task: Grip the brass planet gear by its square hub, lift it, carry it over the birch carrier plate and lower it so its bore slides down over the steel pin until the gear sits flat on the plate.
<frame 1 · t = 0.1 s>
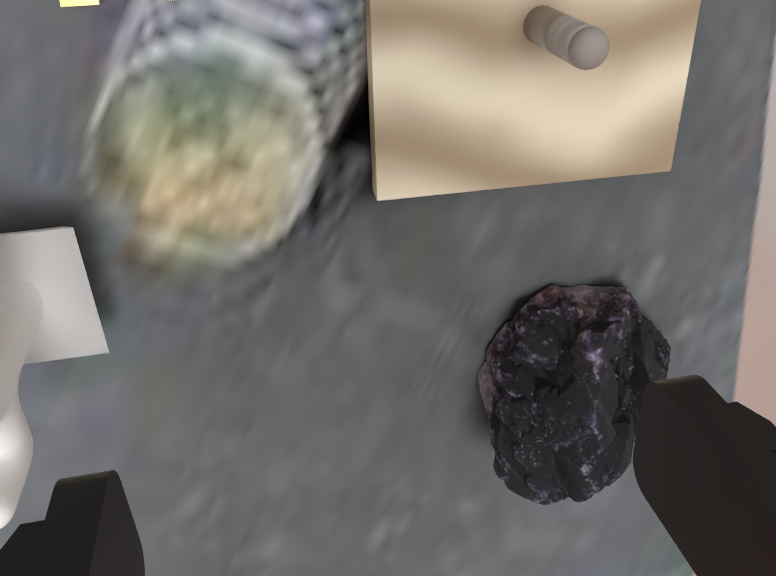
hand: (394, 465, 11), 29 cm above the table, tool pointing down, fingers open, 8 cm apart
black rock: (559, 360, 49), on the table
figurine: (33, 266, 39), on the table
carrier plate: (529, 19, 37), on the table
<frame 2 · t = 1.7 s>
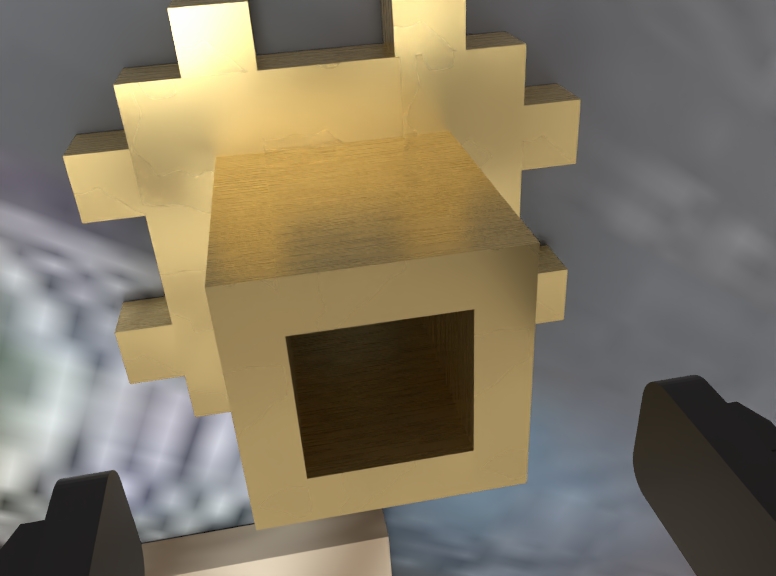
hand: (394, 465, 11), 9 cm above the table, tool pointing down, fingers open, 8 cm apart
planet gear: (337, 223, 19), on the table
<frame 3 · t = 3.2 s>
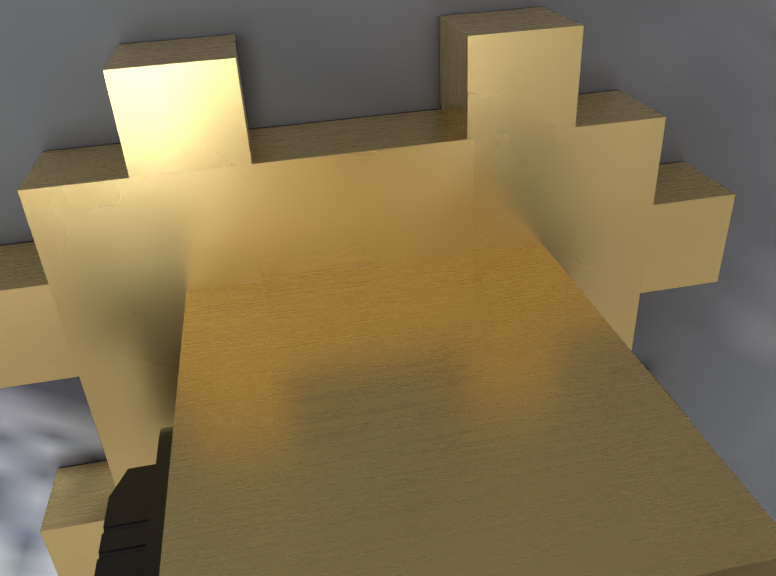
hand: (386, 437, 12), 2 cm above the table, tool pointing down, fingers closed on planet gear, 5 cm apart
planet gear: (365, 355, 14), on the table, touching gripper
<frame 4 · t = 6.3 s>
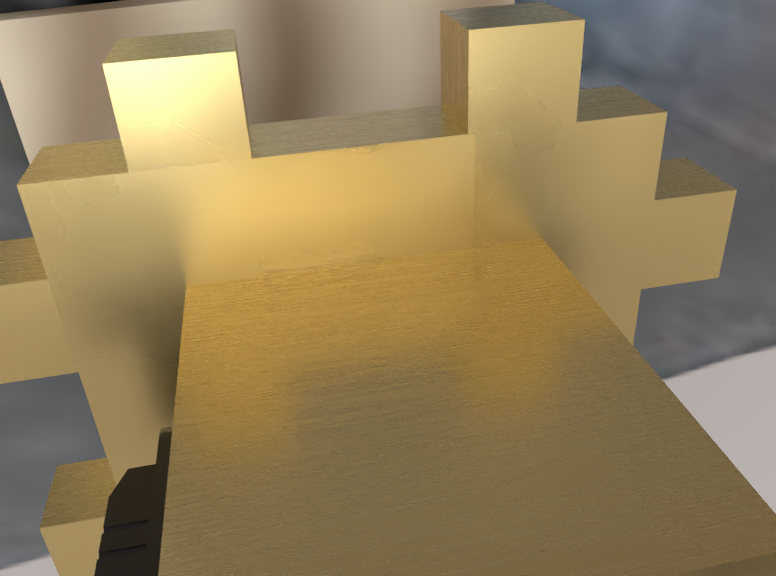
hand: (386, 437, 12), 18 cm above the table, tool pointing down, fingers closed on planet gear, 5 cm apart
carrier plate: (293, 215, 29), on the table
planet gear: (365, 351, 14), point 16 cm above the table, touching gripper
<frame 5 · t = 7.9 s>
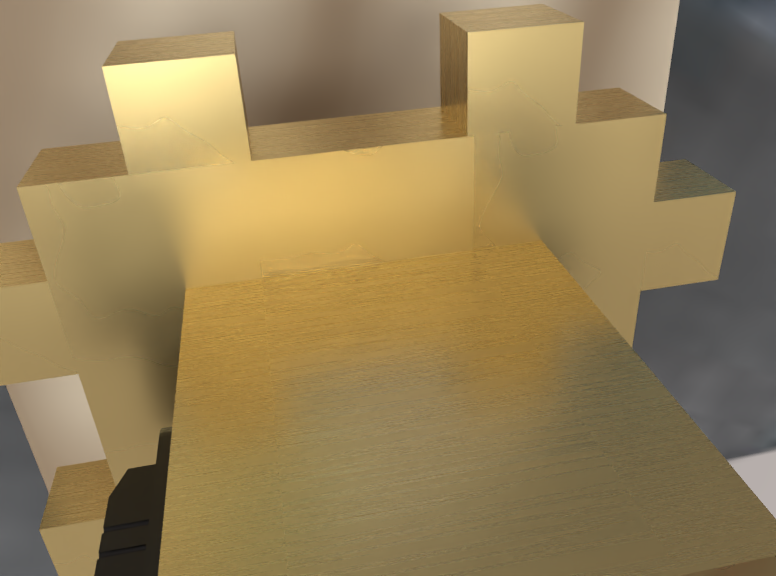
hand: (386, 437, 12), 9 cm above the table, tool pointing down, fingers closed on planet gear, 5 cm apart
carrier plate: (323, 213, 19), on the table
planet gear: (365, 353, 14), point 7 cm above the table, touching gripper
when the fingers open (5 cm above the table, at t = 9.2 s): planet gear stays where it is, resting on carrier plate.
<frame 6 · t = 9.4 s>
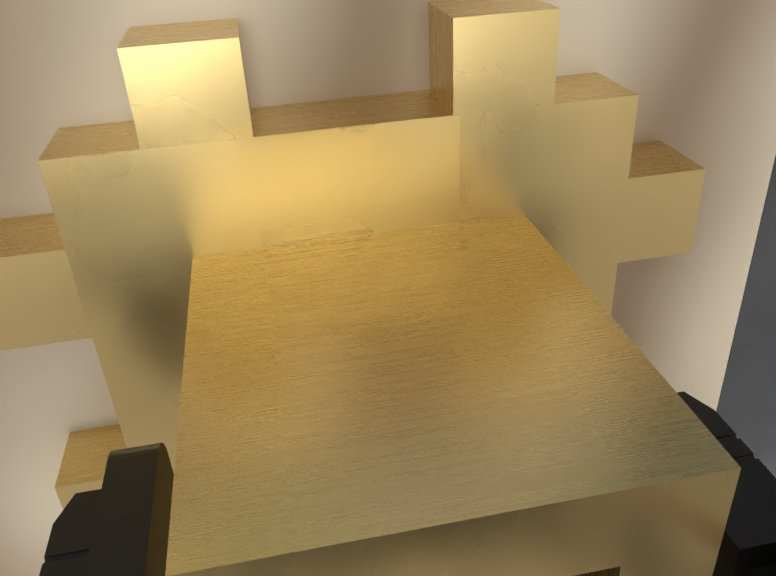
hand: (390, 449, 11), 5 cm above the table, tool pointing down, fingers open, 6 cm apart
carrier plate: (345, 290, 16), on the table
planet gear: (360, 324, 14), point 1 cm above the table, touching carrier plate
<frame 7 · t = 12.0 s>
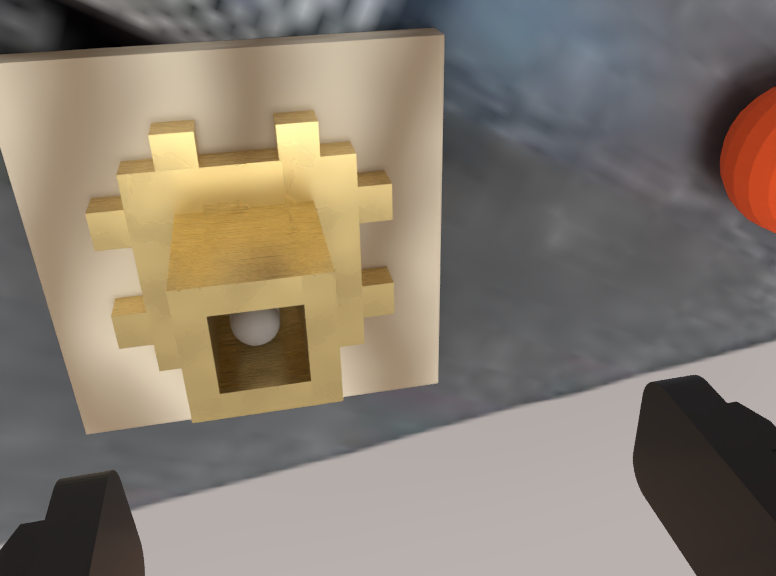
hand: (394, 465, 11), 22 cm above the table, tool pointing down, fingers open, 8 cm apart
clementine: (761, 123, 35), on the table
carrier plate: (247, 237, 32), on the table
planet gear: (251, 251, 31), point 1 cm above the table, touching carrier plate
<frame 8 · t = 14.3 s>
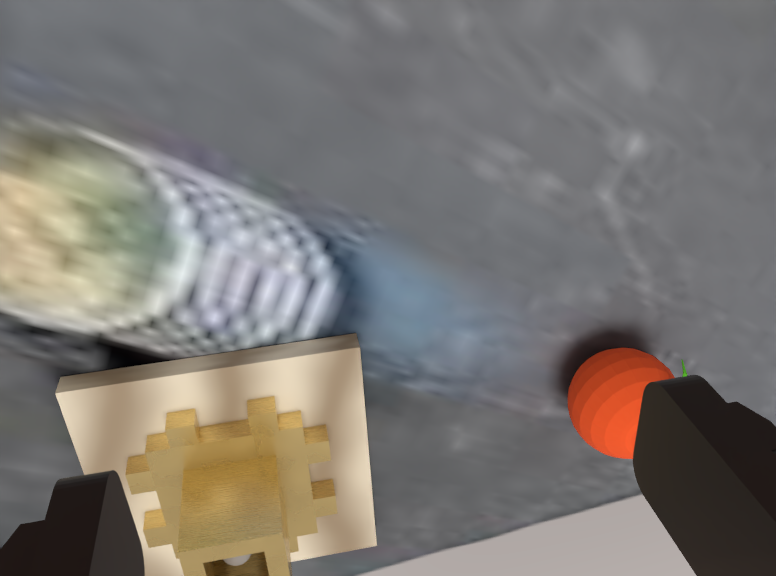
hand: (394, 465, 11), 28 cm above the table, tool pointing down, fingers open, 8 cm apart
clementine: (603, 362, 49), on the table
carrier plate: (235, 461, 47), on the table
planet gear: (236, 477, 46), point 1 cm above the table, touching carrier plate
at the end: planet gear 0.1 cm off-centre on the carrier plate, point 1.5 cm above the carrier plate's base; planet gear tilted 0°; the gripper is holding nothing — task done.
